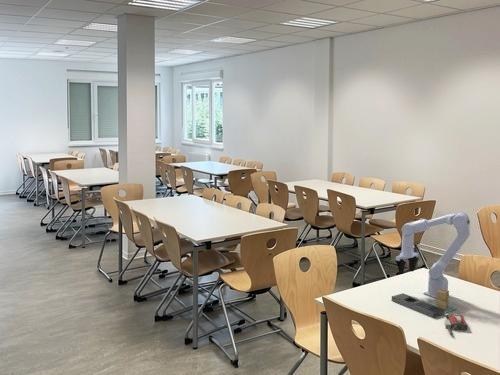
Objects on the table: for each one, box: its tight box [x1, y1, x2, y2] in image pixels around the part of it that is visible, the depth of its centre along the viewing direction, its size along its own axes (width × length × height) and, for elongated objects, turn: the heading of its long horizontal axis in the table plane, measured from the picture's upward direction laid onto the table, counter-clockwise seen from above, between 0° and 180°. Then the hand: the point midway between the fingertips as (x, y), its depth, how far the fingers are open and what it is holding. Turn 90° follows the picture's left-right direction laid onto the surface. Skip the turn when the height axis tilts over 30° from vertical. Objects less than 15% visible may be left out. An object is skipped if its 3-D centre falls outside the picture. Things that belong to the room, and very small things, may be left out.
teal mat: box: [432, 303, 457, 314], centre depth 228 cm, size 9×9×1 cm
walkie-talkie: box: [444, 312, 469, 336], centre depth 207 cm, size 9×4×20 cm
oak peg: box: [435, 289, 450, 309], centre depth 228 cm, size 4×4×8 cm
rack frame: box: [391, 292, 446, 319], centre depth 229 cm, size 8×24×2 cm, turn 32°
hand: (406, 272), depth 251 cm, fingers open, 7 cm apart
